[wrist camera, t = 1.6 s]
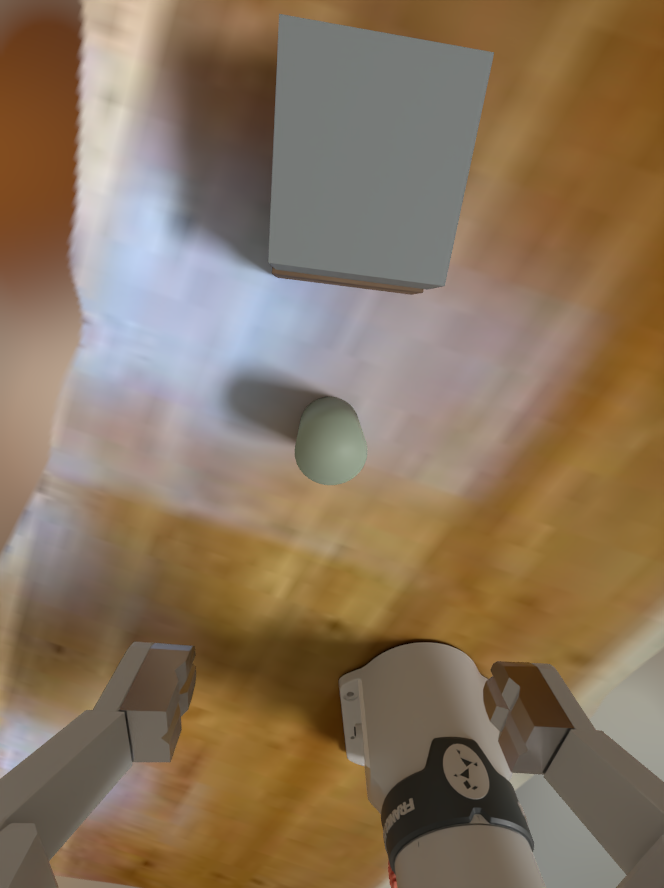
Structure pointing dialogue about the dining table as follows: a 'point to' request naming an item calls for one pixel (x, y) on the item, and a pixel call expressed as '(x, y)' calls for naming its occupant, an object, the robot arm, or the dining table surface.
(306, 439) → the sage green rounded oval
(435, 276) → the grey slab
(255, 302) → the dining table surface
